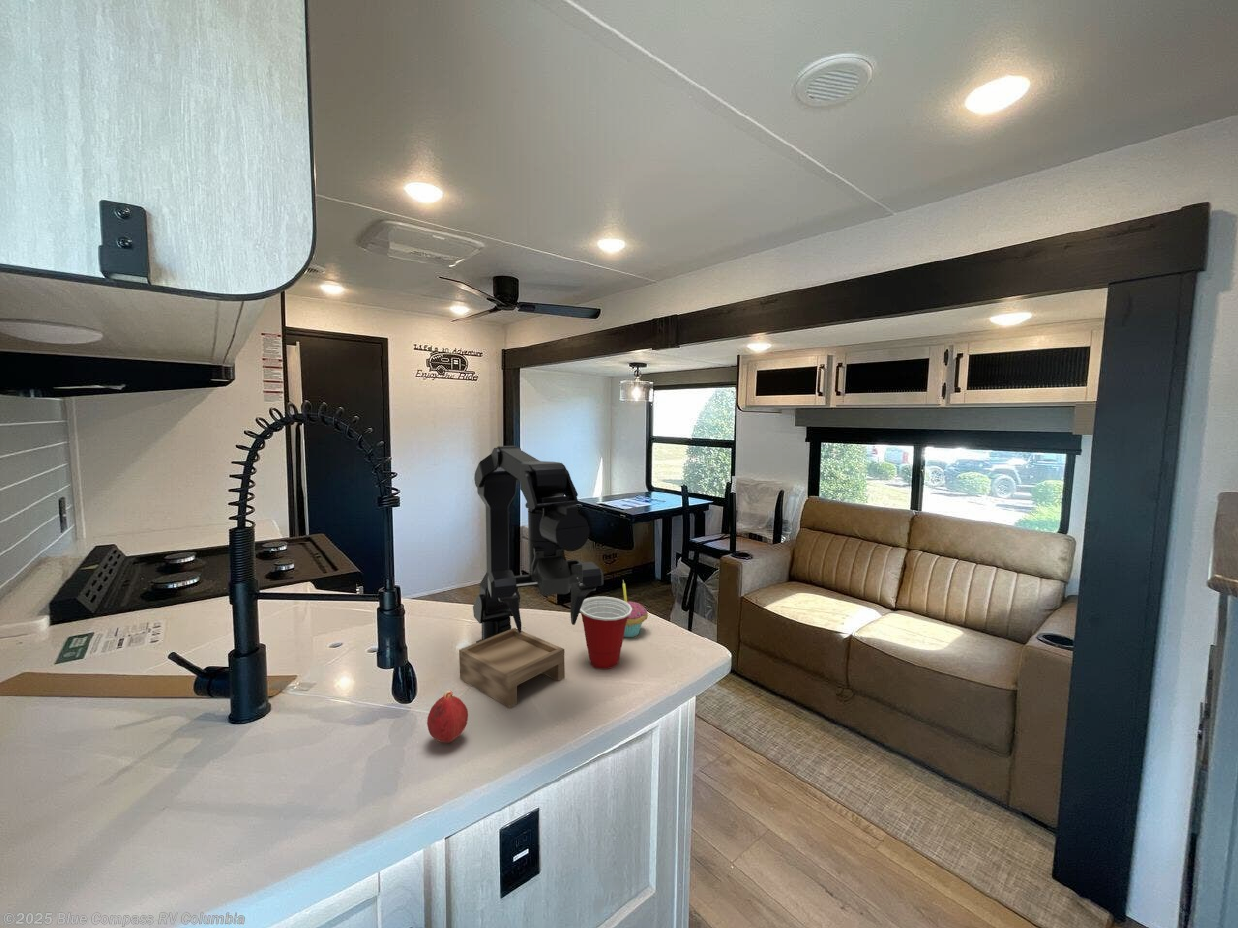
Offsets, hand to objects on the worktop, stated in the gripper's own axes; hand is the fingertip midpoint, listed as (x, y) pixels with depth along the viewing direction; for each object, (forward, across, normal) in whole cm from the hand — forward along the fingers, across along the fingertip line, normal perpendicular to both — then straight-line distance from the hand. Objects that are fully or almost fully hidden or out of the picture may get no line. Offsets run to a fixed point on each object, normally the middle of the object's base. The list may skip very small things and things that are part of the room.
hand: (546, 627), depth 84 cm
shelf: (+14, -4, +11) cm, 18 cm away
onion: (+14, -16, -4) cm, 22 cm away
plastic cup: (+14, +14, +11) cm, 23 cm away
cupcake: (+14, +24, +22) cm, 35 cm away
